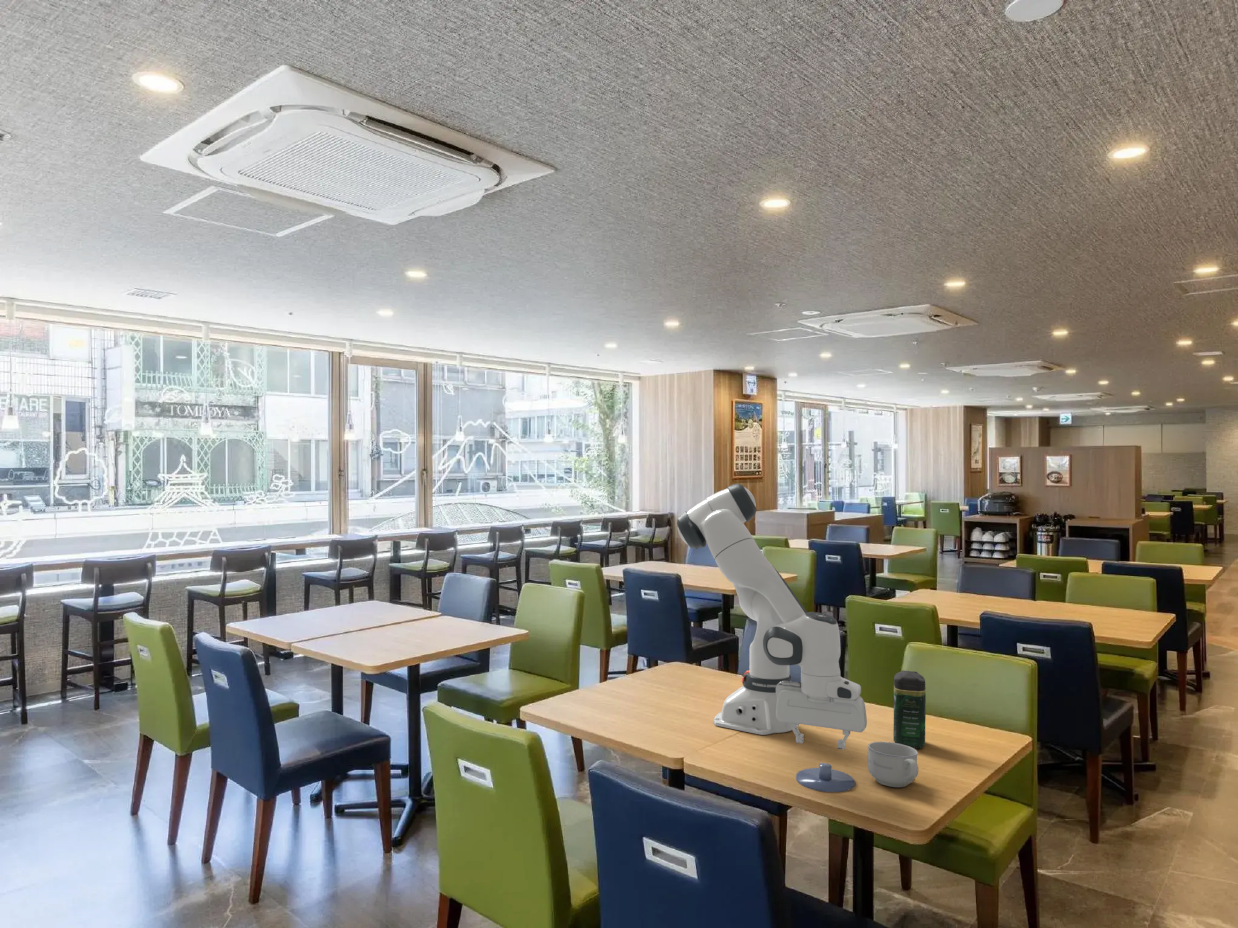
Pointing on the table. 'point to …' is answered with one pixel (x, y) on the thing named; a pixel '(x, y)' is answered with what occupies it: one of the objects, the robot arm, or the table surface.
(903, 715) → the coffee jar
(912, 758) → the teacup
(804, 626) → the robot arm
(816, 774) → the lid
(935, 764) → the table surface
